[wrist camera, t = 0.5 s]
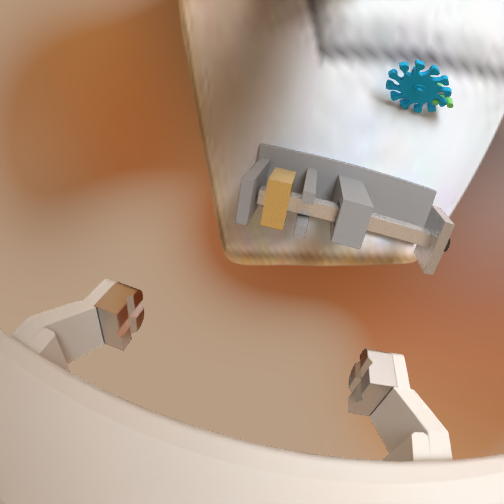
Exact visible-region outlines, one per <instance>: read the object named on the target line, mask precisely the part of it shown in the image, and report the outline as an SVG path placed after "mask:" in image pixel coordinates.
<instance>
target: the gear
mask: <svg viewBox="0 0 504 504" xmlns="http://www.w3.org/2000/svg"><path fill="white" fill-rule="evenodd" d="M399 66H400V69H401V70H402V71H403V73H404V77H399V76H398V75H397V71H396V70H395V69H392V70H390V71H389V72H388V74H389V77H390V78H392V79H394V80H396V81H397V82H398V83H399V84H400V85H396V84H394V82H393V81H391V80H387V82H386V88H387V89H389V90H397V91H400V92H401V93H397V92H395V91H391V99H392V100H393V101H395V100H398V99H401V98H404V99H409V100H401V101H400V105H401V107H402V108H404V109H407V108H408V106H409V105H410V104H413V103H418V104H415V105H414V111H415V112H418V113H421V112H422V106H423V104H424V103H429V104H428V105H427V106H428V111H429V112H434V111H436V108H435V105H438V104H439V105H440V106H441V107H442V106H445V105H446V104H447V107H448V108H452V107H453V102H452V99H451V98H450V96H451V93H452V92H451V89H450V88H449V87H442V84H443V85H445V86H447V85H449V82H448V77H447V76H446V75H443V76H441V77H431V76H430V75H439V74H440V72H439V69H438V67H437V66H435V65H432V66H431V67H430V69H429V70H427V71H425V72H420V70H423V69H424V68H425V66H424V62H422V61H420V60H416V61H415V66H414V67H413V69H414V71H413V72H411V73H409V72H407V71H408V70H409V65H408V63H407V62H401V63H399ZM437 83H438V84H437ZM447 97H448V98H447Z"/></svg>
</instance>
